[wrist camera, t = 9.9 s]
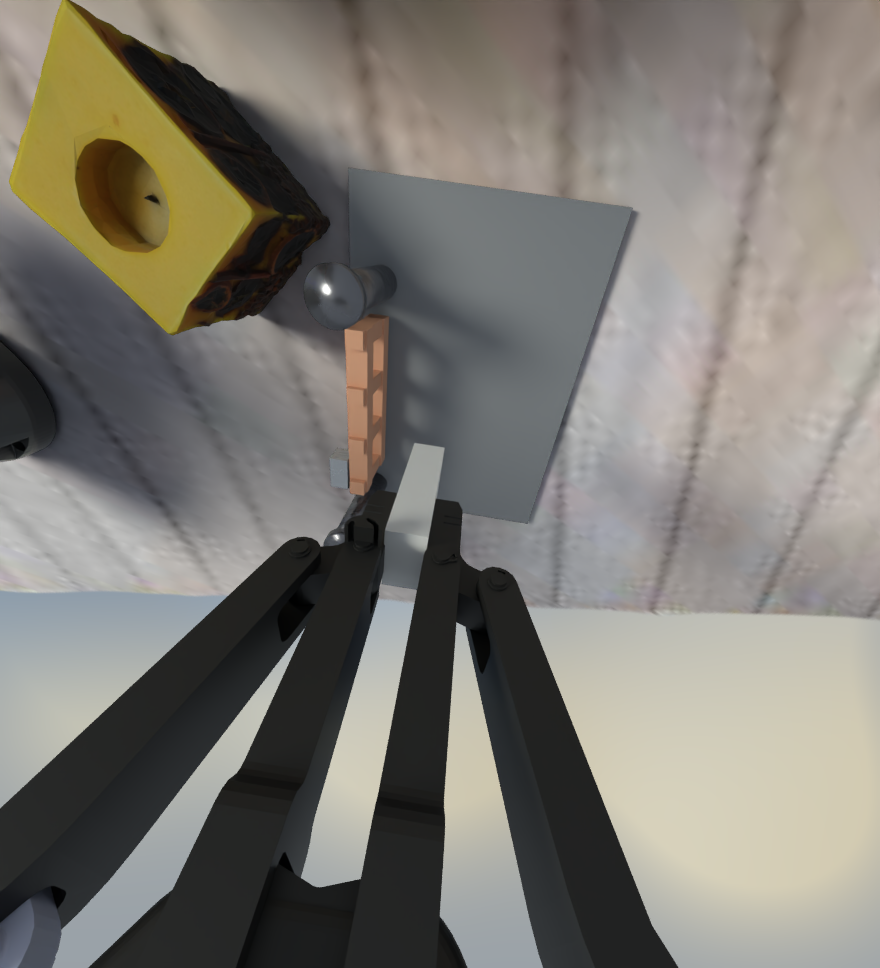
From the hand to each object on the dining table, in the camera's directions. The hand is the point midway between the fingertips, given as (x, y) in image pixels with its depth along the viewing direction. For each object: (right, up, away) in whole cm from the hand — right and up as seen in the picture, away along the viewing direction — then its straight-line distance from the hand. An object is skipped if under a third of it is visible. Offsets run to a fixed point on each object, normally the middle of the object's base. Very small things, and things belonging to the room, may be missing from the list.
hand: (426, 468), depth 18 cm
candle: (-14, +19, +9) cm, 26 cm away
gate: (-5, +7, +14) cm, 16 cm away
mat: (+2, +8, +14) cm, 16 cm away
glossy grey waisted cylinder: (-4, +15, +10) cm, 18 cm away
